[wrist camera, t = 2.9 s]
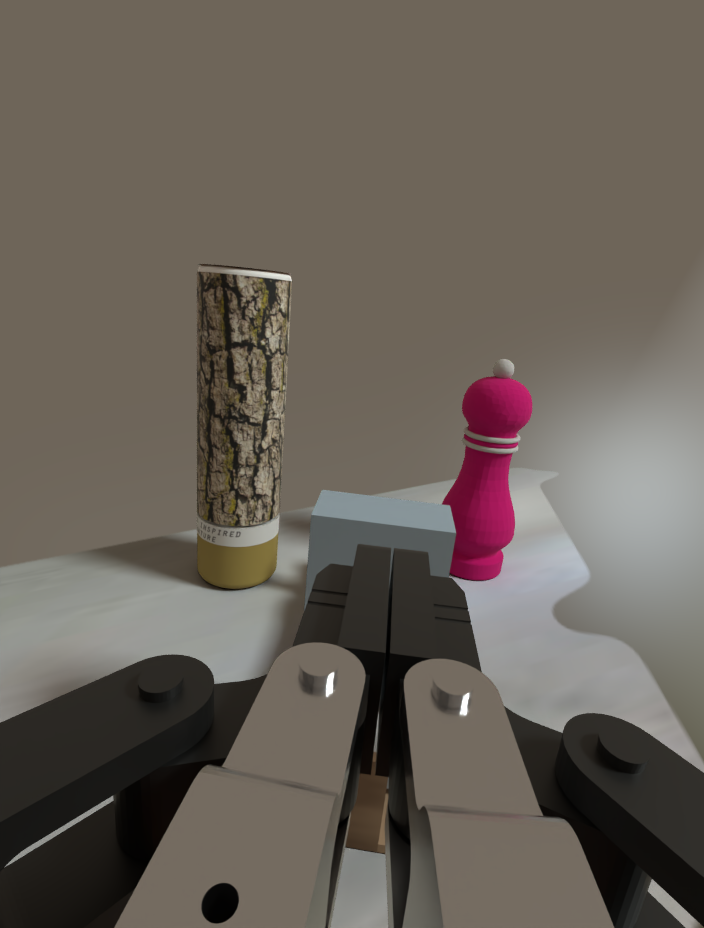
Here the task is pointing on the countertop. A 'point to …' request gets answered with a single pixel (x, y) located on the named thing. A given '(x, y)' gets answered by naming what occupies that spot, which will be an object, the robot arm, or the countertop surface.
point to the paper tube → (240, 420)
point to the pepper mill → (487, 473)
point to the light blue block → (377, 531)
